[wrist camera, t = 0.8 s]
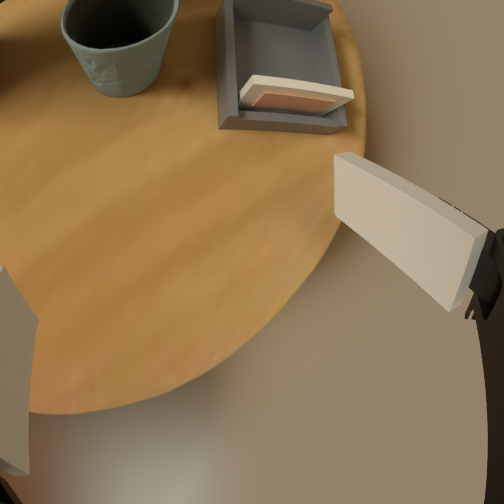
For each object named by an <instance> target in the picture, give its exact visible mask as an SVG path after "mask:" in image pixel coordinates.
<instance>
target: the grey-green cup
mask: <svg viewBox="0 0 504 504" xmlns="http://www.w3.org/2000/svg"><path fill="white" fill-rule="evenodd" d="M178 10H179V0H69V1H68V3H67V4H66V6H65V8H64V10H63V13H62V17H61V30H62V34H63V35H64V37H65V39H66V41H67V42H68V44H69V46H70V47H71V49H72V51H73V52H74V54H75V55H76V57H77V58H78V60H79V62H80V65H81V66H82V67H83V70H84V72H85V73H86V74H87V76H88V78H89V80H90V82H91V83H92V85H93V86H94V87H95V89H97V90H98V91H99V92H101V93H102V94H104V95H107V96H110V97H115V98H122V97H130V96H132V95H135V94H138V93H139V92H143V91H144V90H145V89H146V88H147V87H149V86H150V85H151V84H152V83H153V81H154V80H155V79H156V77H157V76H158V74H159V71H160V68H161V64H162V59H163V55H164V52H165V50H166V46H167V42H168V39H169V36H170V32H171V30H172V26H173V24H174V21H175V18H176V16H177V13H178Z"/></svg>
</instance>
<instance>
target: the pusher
mask: <svg viewBox="0 0 504 504" xmlns="http://www.w3.org/2000/svg"><path fill="white" fill-rule="evenodd" d="M237 97H238V110H256V111H270V112H282V113H293V114H303V115H311V116H320V117H322V116H324V115H325V114H327V113H329V112H331V111H332V110H334V109H336V108H338V107H340V106H342V105H343V104H345V103H347V102H349V101H351V100H353V99H354V93H353V90H349V89H345V88H340V87H335V86H330V85H324V84H319V83H313V82H307V81H300V80H294V79H286V78H279V77H270V76H261V75H252V76H251V78H250V79H249V80H248V81H247V83H246V84H245V85H244V87H243V88H242V89H241V91H240V92H239V93H238V95H237Z"/></svg>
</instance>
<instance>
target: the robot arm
mask: <svg viewBox="0 0 504 504" xmlns="http://www.w3.org/2000/svg"><path fill="white" fill-rule="evenodd" d="M4 1H5V0H0V3H2V2H4ZM334 196H335V216H336V217H338V218H339V219H340V220H341V221H343V222H344V223H345V224H347V225H348V226H349V227H350V228H352V229H353V230H354V231H355V232H357V233H358V234H359V235H360V236H362V237H363V238H364V239H365V240H366V241H368V242H369V243H370V244H371V245H373V246H374V247H375V248H376V249H377V250H379V251H380V252H381V253H382V254H383V255H385V256H386V257H387V258H388V259H389V260H391V261H392V262H393V263H394V264H395V265H396V266H398V267H399V268H400V269H401V270H402V271H404V273H406V274H407V275H408V276H409V277H410V278H411V279H413V280H414V281H415V282H416V283H417V284H418V285H419V286H420V287H422V288H423V289H424V290H425V291H426V292H427V293H428V294H429V295H430V296H432V297H433V298H434V299H435V300H436V301H437V302H438V303H439V304H440V305H441V306H442V307H443V308H445V309H446V310H447V311H448V312H451V311H452V310H453V309H455V308H456V307H457V306H459V305H460V304H461V303H462V302H463V301H464V298H465V296H466V293H467V291H468V288H470V289H471V290H472V291H473V292H474V294H473V297H472V299H471V301H470V304H469V306H468V308H467V311H466V313H465V319H468V317H469V315H470V313H471V311H472V310H474V314H473V316H472V319H473V320H476V324H477V330H478V335H479V341H480V348H481V354H482V362H483V368H484V369H483V370H484V378H485V389H486V402H487V422H488V460H487V480H486V491H485V500H484V504H504V229H499V230H497V232H496V233H494V232H493V231H491V230H490V229H488V228H487V227H485V226H484V225H482V224H481V223H479V222H478V221H476V220H475V219H473V218H472V217H470V216H468V215H467V214H465V213H464V212H463V213H462V212H461V210H459V209H457V208H456V207H452V205H451V204H449V203H448V202H446V201H444V200H442V199H441V198H438V197H436V196H434V195H432V194H430V193H429V192H427V191H425V190H424V189H422V188H420V187H418V186H416V185H415V184H413V183H411V182H409V181H407V180H406V179H404V178H402V177H400V176H398V175H396V174H394V173H392V172H390V171H388V170H386V169H384V168H383V167H381V166H379V165H377V164H375V163H372V162H371V161H368V160H367V159H364V158H362V157H360V156H358V155H356V154H354V153H352V152H350V151H348V152H343V153H339V154H334ZM37 325H38V317H37V316H36V314H35V313H34V312H33V310H32V309H31V307H30V306H29V304H28V303H27V302H26V300H25V299H24V297H23V296H22V294H21V293H20V291H19V289H18V288H17V286H16V285H15V283H14V282H13V280H12V278H11V277H10V275H9V274H8V272H7V270H6V269H5V267H4V265H3V266H1V267H0V469H1V470H3V471H5V472H7V473H9V474H11V475H12V476H16V475H30V470H29V452H28V451H29V449H28V417H29V395H30V381H31V370H32V361H33V352H34V345H35V338H36V331H37ZM0 504H23V503H22V502H21V501H20V499H19V498H18V497H17V495H16V494H15V493H14V491H13V490H12V488H11V487H10V485H9V484H8V482H7V481H6V480H5V479H4V478H2V477H0Z"/></svg>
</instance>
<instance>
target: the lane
mask: <svg viewBox="0 0 504 504" xmlns="http://www.w3.org/2000/svg"><path fill="white" fill-rule="evenodd" d="M332 11H333V9H332V5H330V4H326V3H323V2H319V1H316V0H222V2H221V4H220V7H219V9H218V11H217V14H216V16H215V24H216V69H217V101H218V127H219V129H243V130H267V131H284V132H298V133H310V134H321V135H329V134H331V133H333V132H335V131H338V130H340V129H342V128H344V127H347V119H346V112H345V104H343V105H342V106H340V107H338V108H336V109H334V110H332V111H331V112H329V113H327V114H325V115H324V116H322V117H320V116H311V115H303V114H293V113H282V112H270V111H256V110H238V97H237V95H238V93H239V92H240V91H241V89H242V88H243V87H244V85H245V84H246V83H247V81H248V80H249V79H250V78H251V76H252V75H261V76H270V77H279V78H286V79H294V80H300V81H307V82H313V83H319V84H324V85H330V86H335V87H340V88H342V84H341V78H340V72H339V66H338V61H337V55H336V50H335V45H334V40H333V35H332V30H331V25H330V21H329V16H328V15H329V14H330V13H331V12H332Z"/></svg>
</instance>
